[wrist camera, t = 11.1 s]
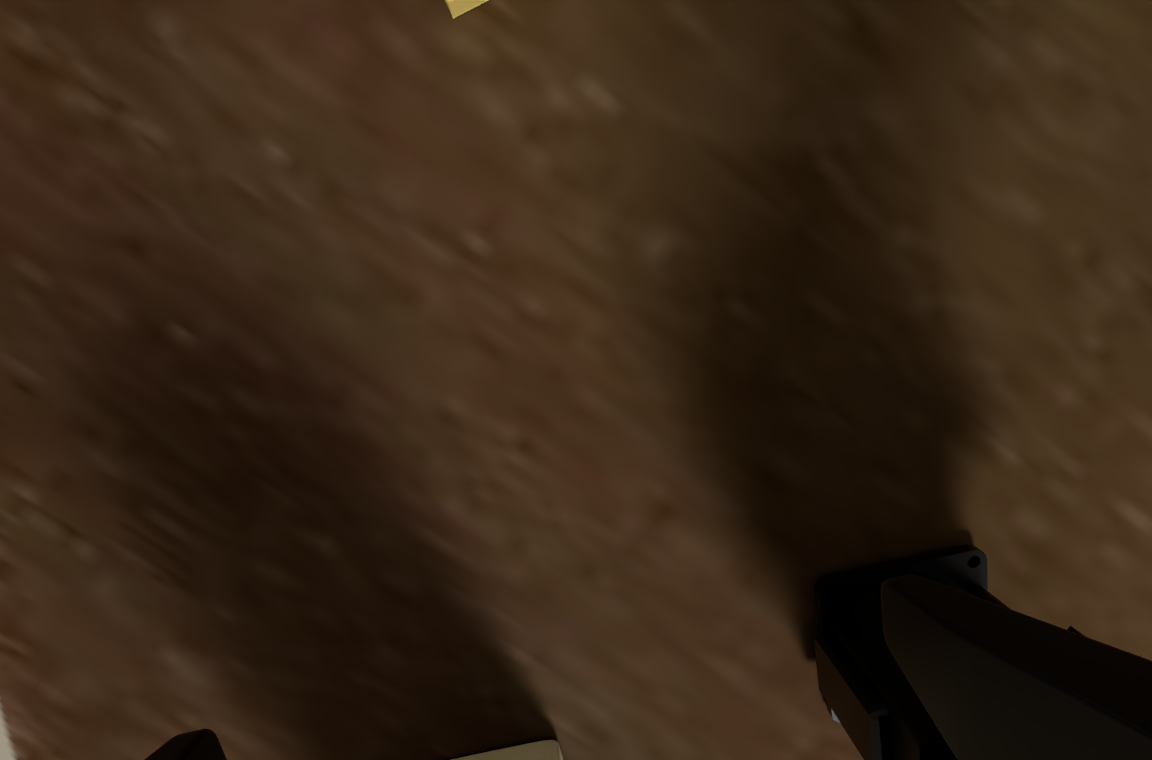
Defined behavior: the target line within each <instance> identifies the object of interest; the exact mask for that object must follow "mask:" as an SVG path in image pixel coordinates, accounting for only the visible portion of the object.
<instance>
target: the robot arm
mask: <svg viewBox="0 0 1152 760" xmlns="http://www.w3.org/2000/svg"><path fill="white" fill-rule="evenodd" d="M971 557H972V559H971V560H970V561H969V562H968V560H969V559H970V558H971ZM831 587H834V589H833V590H832V591H831V592H829V593H826V592H827V590H828V589H829V588H831ZM815 595H816V605H817V615H818V625H819V631H818V632H817V633H816V635H815V637H814V644H815V653H816V663H817V672H818V682H819V689H820V691H821V693H822V694H823V696H824V698H825V699H826V703H827V709H828V711H829V713H830V715H831V716H832V718H833V719H834V720H835V721H836V722H839V723H841V724H842V726H843V727H844V729H845V731H846V732H847V734H848V735H849V737H850V738H851V740H852V741H853V743H854V745H855V746H856V748H857V749H858V751H859V752H860V754H861V756H862V757H863V759H864V760H1152V661H1151V660H1148V659H1145V658H1142V657H1140V656H1137V655H1134V654H1131V653H1129V652H1126V651H1123V650H1120V649H1118V648H1115V647H1112V646H1109V645H1107V644H1104V643H1101V642H1098V641H1096V640H1093V639H1090V638H1088V637H1086V636H1085V635H1083V634H1082V633H1080V632H1079V631H1077V630H1076V629H1075V628H1073V627H1072V626H1070V627H1069V628H1068V629H1067V630H1065V629H1063V628H1060V627H1057V626H1055V625H1052V624H1049V623H1046V622H1044V621H1041V620H1038V619H1035V618H1033V617H1030V616H1027V615H1024V614H1022V613H1019V612H1016V611H1013V610H1011V609H1010V608H1008V607H1007V606H1006V605H1005V604H1003V603H1002V602H1001V601H1000V600H998V599H997V598H996V597H994V596H993V595H992V594H991V593H989V592H988V591H987V558H986V555H985V554H984V552H983V551H981V550H980V549H978V548H977V547H975V546H973V545H964V546H959V547H954V548H950V549H945V550H941V551H936V552H931V553H927V554H922V555H918V556H913V557H908V558H904V559H899V560H895V561H890V562H885V563H881V564H876V565H872V566H867V567H862V568H858V569H853V570H849V571H844V572H839V573H835V574H830V575H826V576H824V577H821V578H820V579H819V580H818V581H817V583H816V585H815ZM145 760H227V759H226V757H225V754H224V752H223V750H222V747H221V745H220V742H219V740H218V738H217V736H216V734H215V733H214V732H213V731H212V730H210V729H201V730H196V731H192V732H187V733H183V734H179V735H177V736H175V737H173V738H172V739H170V740H169V741H168V742H166V743H165V744H164V745H162V746H161V747H160V748H159V749H157V750H156V751H155V752H154V753H152V754H151V755H150V756H149V757H147V758H146V759H145Z"/></svg>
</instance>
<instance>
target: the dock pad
mask: <svg viewBox="0 0 1152 760" xmlns="http://www.w3.org/2000/svg"><path fill="white" fill-rule="evenodd" d="M486 1H488V0H445V3H446V5H447V7H448V9H449V11H450V13H451V15H452V17H453V19H454V18H455V17H457V16H459V15H461V14H463V13H465V12H467V11H469V10H471V9H473V8H475V7H477V6H479V5H481V4H482V3H484V2H486Z"/></svg>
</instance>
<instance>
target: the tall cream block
mask: <svg viewBox="0 0 1152 760" xmlns="http://www.w3.org/2000/svg"><path fill="white" fill-rule="evenodd" d="M451 760H563V757H562V753H561V750H560V745H559V743H558V742H557V741H556V740H545V741H538V742H533V743H528V744H523V745H518V746H513V747H508V748H504V749H499V750H494V751H489V752H484V753H480V754H475V755H470V756H465V757H460V758H456V759H451Z"/></svg>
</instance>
